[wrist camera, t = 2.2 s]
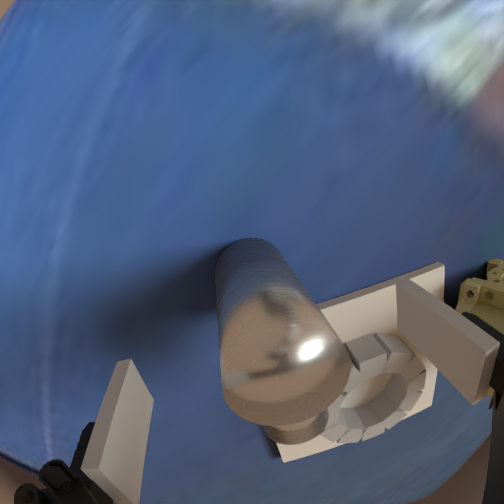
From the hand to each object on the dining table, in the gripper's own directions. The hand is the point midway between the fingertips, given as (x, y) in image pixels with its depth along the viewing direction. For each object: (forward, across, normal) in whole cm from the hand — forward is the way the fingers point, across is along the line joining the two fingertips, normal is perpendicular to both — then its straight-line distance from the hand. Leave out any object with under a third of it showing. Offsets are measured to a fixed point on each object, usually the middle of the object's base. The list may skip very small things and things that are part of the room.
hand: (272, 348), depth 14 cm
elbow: (+9, 0, -1) cm, 9 cm away
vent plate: (+9, +7, -12) cm, 17 cm away
